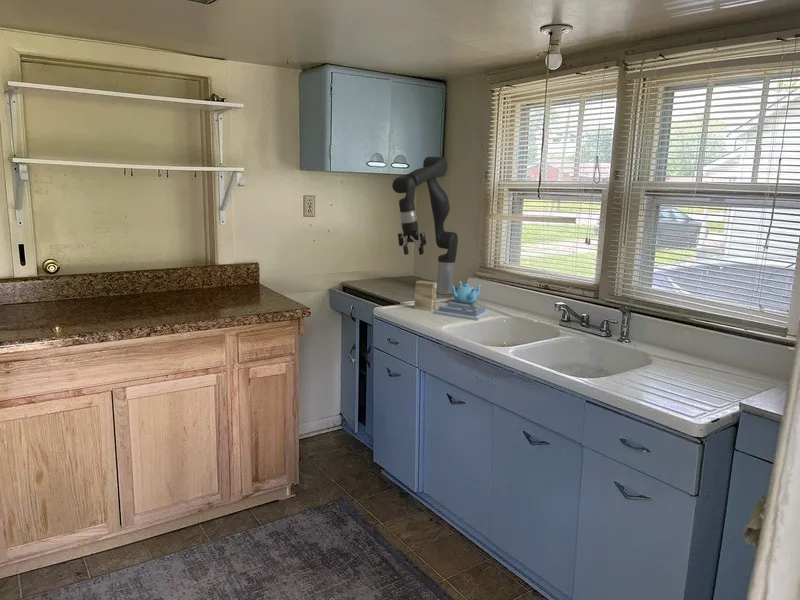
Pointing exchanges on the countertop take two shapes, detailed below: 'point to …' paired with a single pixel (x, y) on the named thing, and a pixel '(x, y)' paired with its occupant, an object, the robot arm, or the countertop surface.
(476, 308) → the grey stepped platform
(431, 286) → the wooden block
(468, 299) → the teapot
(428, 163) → the robot arm
